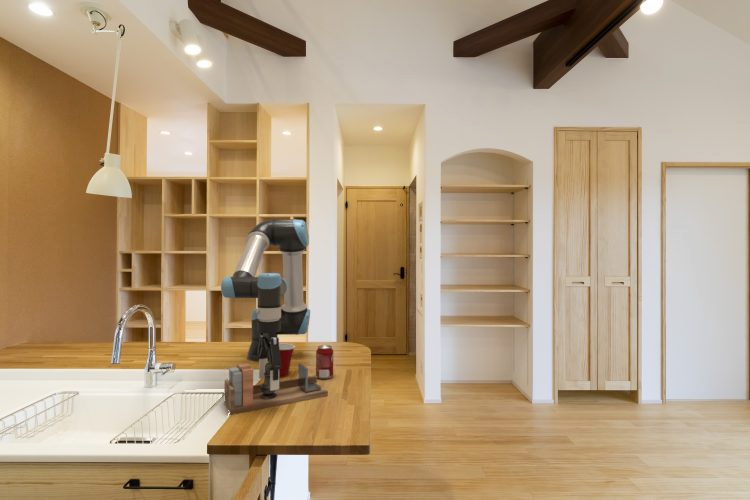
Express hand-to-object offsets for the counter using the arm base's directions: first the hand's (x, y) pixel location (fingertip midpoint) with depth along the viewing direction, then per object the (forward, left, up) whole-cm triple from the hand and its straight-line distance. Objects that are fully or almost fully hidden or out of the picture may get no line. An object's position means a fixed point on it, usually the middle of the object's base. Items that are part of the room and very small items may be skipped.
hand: (268, 383), depth 132 cm
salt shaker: (0, 0, -4) cm, 4 cm away
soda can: (-13, +26, -6) cm, 30 cm away
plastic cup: (-24, +12, -6) cm, 28 cm away
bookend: (0, +14, -4) cm, 15 cm away
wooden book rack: (0, +3, -6) cm, 6 cm away
